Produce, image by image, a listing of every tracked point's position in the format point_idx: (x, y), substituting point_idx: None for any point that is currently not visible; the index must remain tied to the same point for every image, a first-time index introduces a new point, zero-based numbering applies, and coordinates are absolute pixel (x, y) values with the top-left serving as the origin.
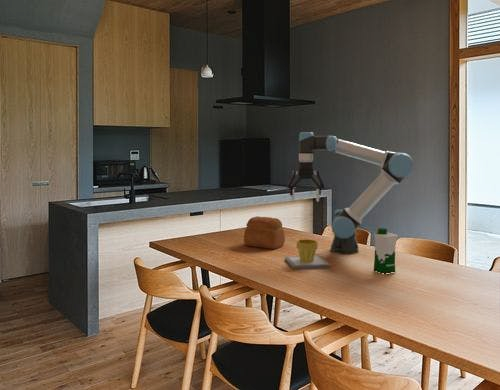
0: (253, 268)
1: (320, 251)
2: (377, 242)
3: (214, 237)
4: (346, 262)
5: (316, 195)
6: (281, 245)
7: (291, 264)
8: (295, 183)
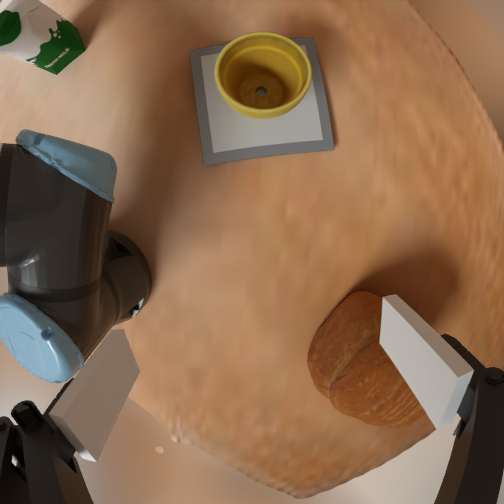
0: (418, 72)
1: (187, 267)
2: (41, 8)
3: None
4: (124, 121)
5: (119, 401)
6: (322, 326)
7: (317, 59)
8: (493, 459)
